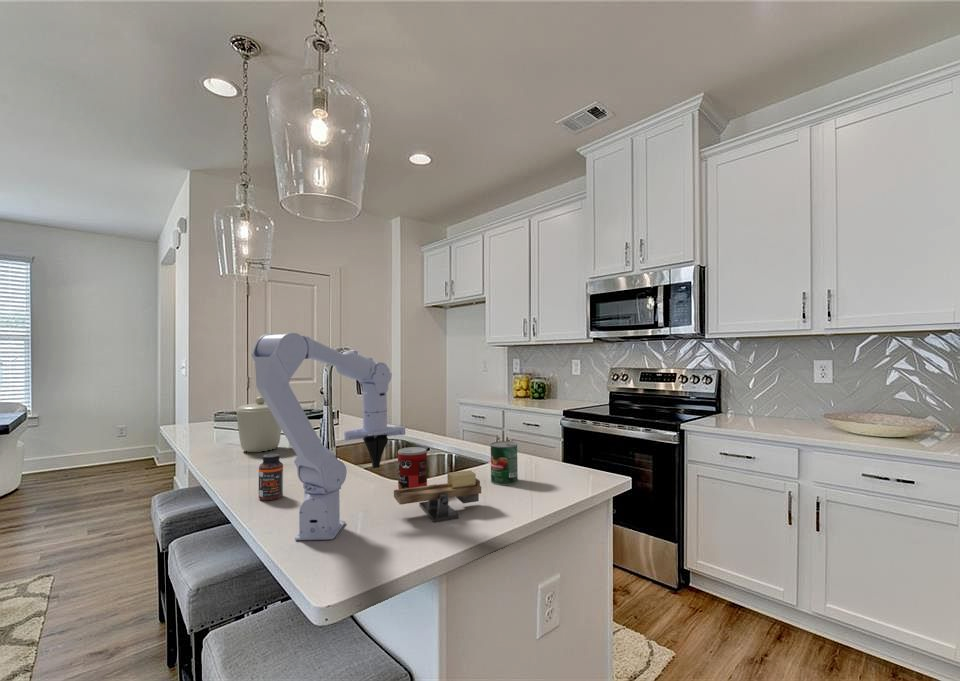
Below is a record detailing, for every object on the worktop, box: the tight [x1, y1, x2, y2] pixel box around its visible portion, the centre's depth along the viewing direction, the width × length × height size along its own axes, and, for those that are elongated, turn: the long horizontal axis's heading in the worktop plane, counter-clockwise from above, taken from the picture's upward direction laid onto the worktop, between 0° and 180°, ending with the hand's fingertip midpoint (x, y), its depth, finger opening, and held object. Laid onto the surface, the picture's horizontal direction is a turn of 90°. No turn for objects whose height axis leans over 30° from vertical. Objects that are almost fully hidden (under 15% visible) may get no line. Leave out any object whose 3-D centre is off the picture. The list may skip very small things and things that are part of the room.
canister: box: [234, 396, 282, 453], centre depth 182 cm, size 18×18×21 cm
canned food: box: [397, 446, 428, 489], centre depth 128 cm, size 8×8×11 cm
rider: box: [447, 470, 477, 490], centre depth 113 cm, size 6×4×4 cm, turn 113°
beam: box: [393, 478, 482, 505], centre depth 110 cm, size 20×6×5 cm, turn 113°
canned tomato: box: [489, 440, 519, 486], centre depth 135 cm, size 8×8×11 cm
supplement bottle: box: [258, 453, 284, 502], centre depth 123 cm, size 6×6×11 cm
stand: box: [418, 484, 460, 523], centre depth 110 cm, size 6×12×5 cm, turn 23°
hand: (375, 466), depth 112 cm, fingers closed
